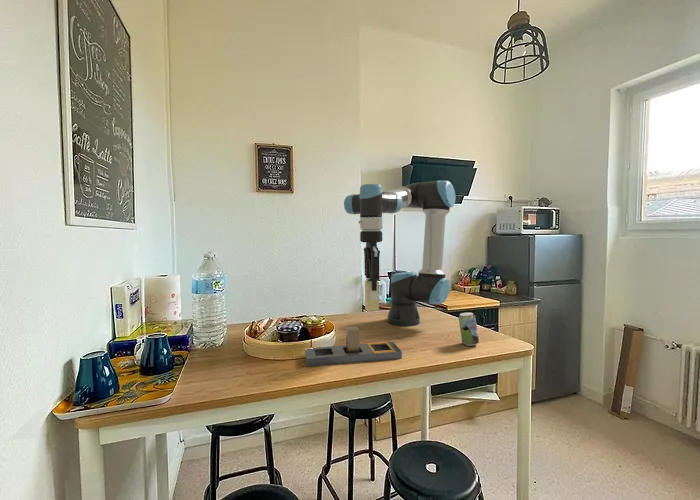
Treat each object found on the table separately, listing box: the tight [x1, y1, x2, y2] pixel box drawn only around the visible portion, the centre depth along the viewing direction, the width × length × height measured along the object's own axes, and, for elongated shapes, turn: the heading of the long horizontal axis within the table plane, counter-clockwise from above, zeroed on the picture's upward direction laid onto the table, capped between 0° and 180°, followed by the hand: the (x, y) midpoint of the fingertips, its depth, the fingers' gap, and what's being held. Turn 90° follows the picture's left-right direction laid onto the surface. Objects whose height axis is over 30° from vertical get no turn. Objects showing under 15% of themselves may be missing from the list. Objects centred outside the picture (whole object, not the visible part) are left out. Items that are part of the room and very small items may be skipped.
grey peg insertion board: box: [304, 341, 403, 367], centre depth 120 cm, size 10×32×3 cm, turn 101°
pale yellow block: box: [364, 280, 380, 313], centre depth 120 cm, size 4×4×10 cm
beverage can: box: [458, 312, 480, 347], centre depth 131 cm, size 6×7×12 cm
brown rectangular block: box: [345, 326, 360, 353], centre depth 119 cm, size 4×4×10 cm
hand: (371, 298), depth 120 cm, fingers closed on pale yellow block, 4 cm apart
